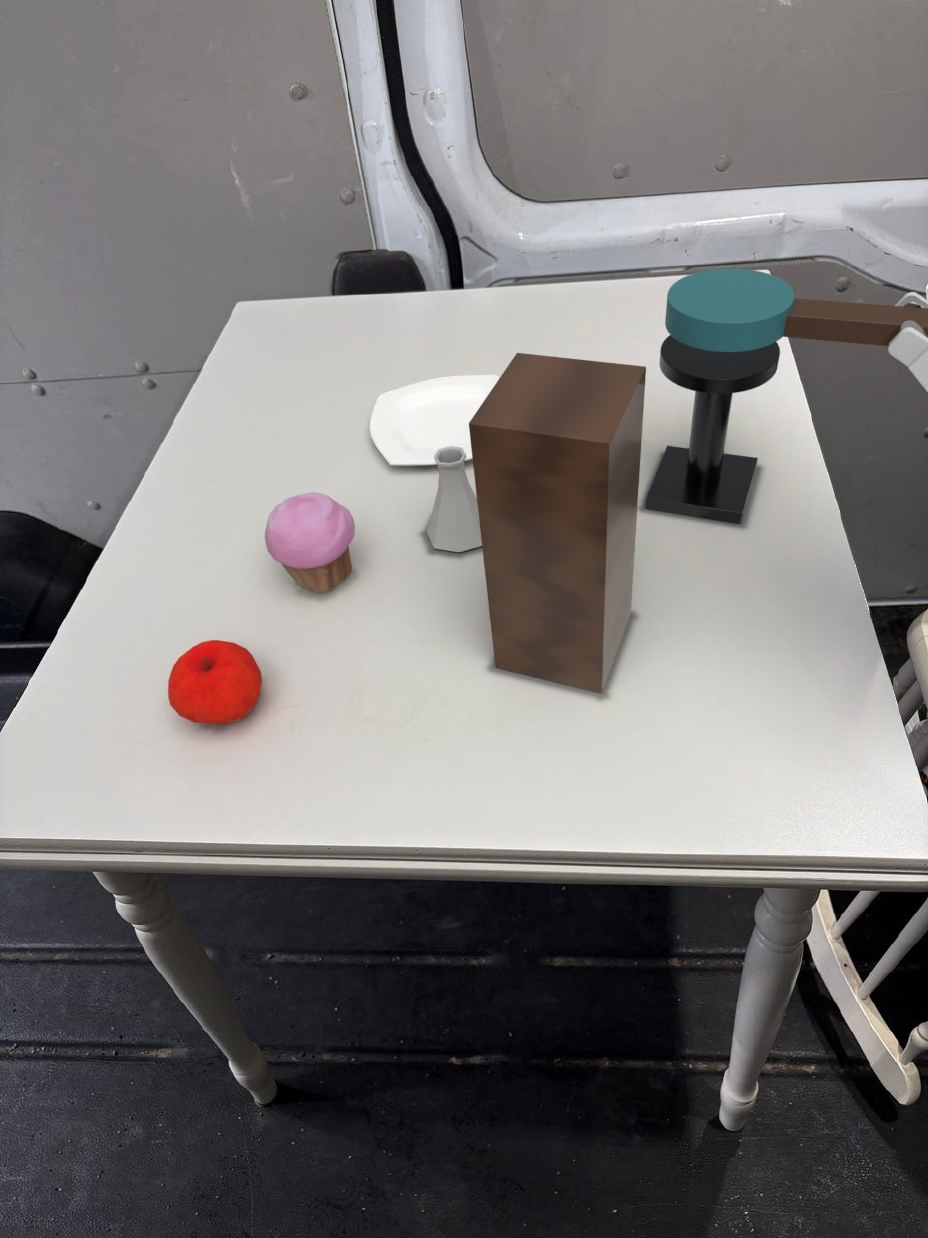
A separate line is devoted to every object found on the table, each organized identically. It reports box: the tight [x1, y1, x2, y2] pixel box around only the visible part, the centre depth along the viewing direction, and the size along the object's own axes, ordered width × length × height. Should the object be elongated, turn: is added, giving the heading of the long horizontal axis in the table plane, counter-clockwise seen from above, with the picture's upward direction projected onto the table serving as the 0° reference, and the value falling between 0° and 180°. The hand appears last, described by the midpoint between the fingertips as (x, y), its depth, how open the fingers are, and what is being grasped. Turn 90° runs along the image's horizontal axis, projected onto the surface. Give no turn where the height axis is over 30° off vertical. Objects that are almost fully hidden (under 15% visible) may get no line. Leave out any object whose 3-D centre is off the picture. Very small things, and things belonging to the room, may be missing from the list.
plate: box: [369, 374, 501, 467], centre depth 104 cm, size 19×19×2 cm
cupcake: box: [264, 491, 356, 594], centre depth 84 cm, size 9×9×10 cm
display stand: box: [644, 334, 781, 525], centre depth 86 cm, size 11×11×16 cm
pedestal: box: [469, 352, 647, 694], centre depth 69 cm, size 10×10×26 cm
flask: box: [426, 446, 482, 553], centre depth 87 cm, size 7×7×10 cm
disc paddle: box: [664, 268, 928, 352], centre depth 53 cm, size 20×8×2 cm, turn 68°
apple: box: [167, 639, 263, 726], centre depth 73 cm, size 8×8×7 cm
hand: (897, 318), depth 52 cm, fingers closed on disc paddle, 2 cm apart
